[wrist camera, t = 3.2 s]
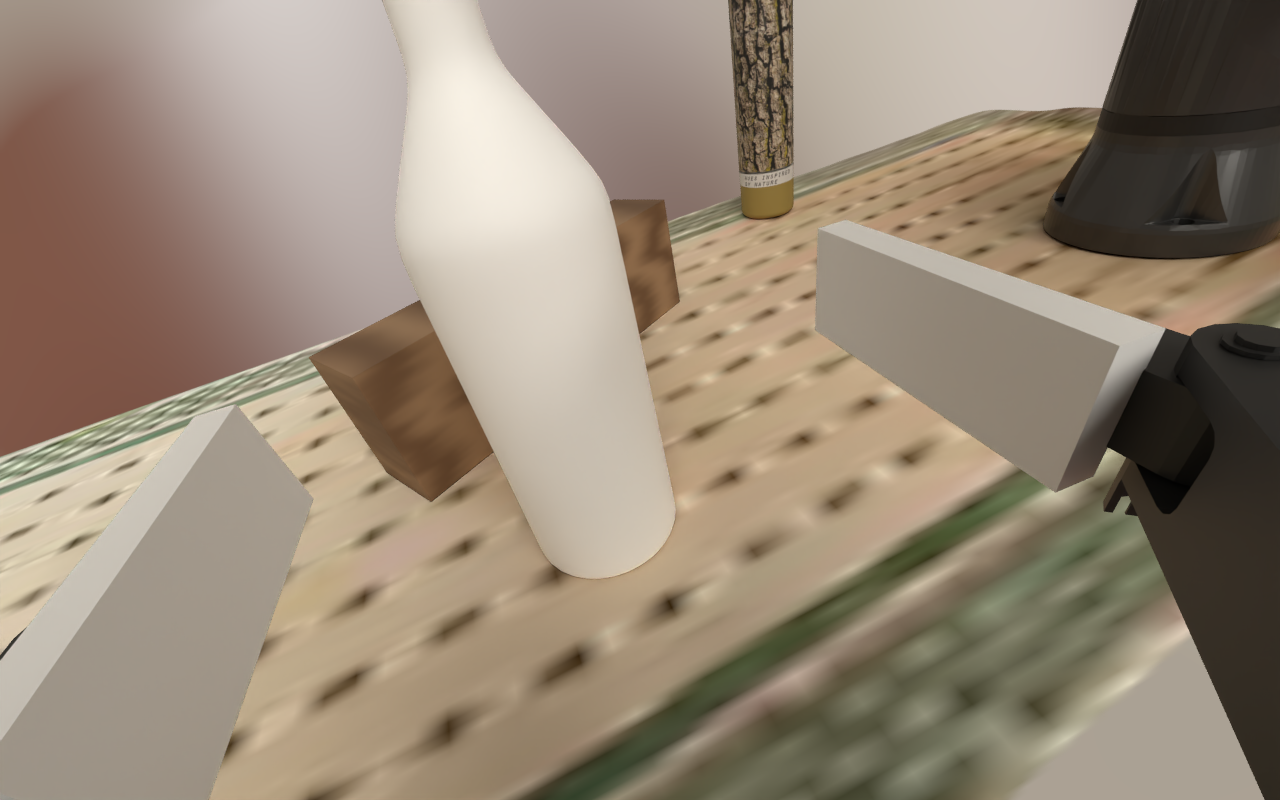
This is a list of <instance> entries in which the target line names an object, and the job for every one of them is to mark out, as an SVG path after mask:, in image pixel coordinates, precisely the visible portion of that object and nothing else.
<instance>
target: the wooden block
mask: <svg viewBox="0 0 1280 800" xmlns="http://www.w3.org/2000/svg"><path fill="white" fill-rule="evenodd" d="M610 204H611V208H612V212H613V216H614V220H615V224H616V229H617V233H618V238H619V243H620V247H621V252H622V257H623V261H624V266H625V271H626V275H627V280H628V285H629V289H630V294H631V299H632V303H633V308H634V313H635V317H636V322H637V327H638V331H639V334H640V333H641V332H642V331H643V330H645V329H646V328H647V327H648V326H650V325H651V324H652V323H653V322H655V321H656V320H657V319H658V318H660V317H661V316H662V315H663V314H665V313H666V312H667V311H668V310H669V309H671V308H672V307H673V306H674V305H676V304H677V303H678V302H679V301H680V300H679V294H678V287H677V281H676V274H675V268H674V261H673V255H672V248H671V241H670V235H669V228H668V222H667V216H666V209H665V202H664V200H612V201H610ZM309 359H310V360H311V361H312V363H313V364H314V366H315V367H316V369H317V370H318V372H319V373H320V375H321V376H322V378H323V379H324V381H325V382H326V384H327V385H328V386H329V388H330V389H331V391H332V392H333V394H334V395H335V397H336V398H337V400H338V401H339V403H340V404H341V406H342V407H343V409H344V410H345V411H346V413H347V414H348V416H349V417H350V419H351V420H352V422H353V423H354V425H355V426H356V428H357V429H358V431H359V432H360V434H361V435H362V437H363V438H364V439H365V441H366V442H367V444H368V445H369V447H370V448H371V450H372V451H373V453H374V454H375V456H376V457H377V459H378V460H379V462H380V463H381V464H382V466H383V467H384V469H385V470H386V472H387V473H388V474H390V475H391V476H393V477H394V478H396V479H397V480H399V481H400V482H402V483H403V484H405V485H406V486H408V487H409V488H411V489H412V490H414V491H415V492H417V493H418V494H420V495H421V496H423V497H424V498H426V499H427V500H429V501H433V500H434V499H435V498H436V497H438V496H439V495H440V494H441V493H443V492H444V491H445V490H446V489H448V488H449V487H450V486H451V485H453V484H454V483H455V482H456V481H458V480H459V479H460V478H461V477H462V476H464V475H465V474H466V473H467V472H469V471H470V470H471V469H472V468H474V467H475V466H476V465H477V464H479V463H480V462H481V461H482V460H484V459H485V458H486V457H487V456H489V455H490V454H491V453H492V452H493V449H492V447H491V445H490V443H489V441H488V439H487V437H486V435H485V433H484V431H483V429H482V427H481V424H480V422H479V420H478V418H477V416H476V414H475V412H474V410H473V408H472V406H471V404H470V402H469V400H468V398H467V396H466V394H465V392H464V389H463V387H462V385H461V383H460V381H459V379H458V377H457V375H456V373H455V371H454V369H453V367H452V365H451V363H450V361H449V359H448V357H447V355H446V352H445V350H444V348H443V346H442V344H441V342H440V340H439V338H438V336H437V334H436V332H435V330H434V328H433V326H432V324H431V322H430V320H429V317H428V315H427V313H426V311H425V309H424V307H423V305H422V303H421V301H420V300H419V301H417V302H415V303H413V304H411V305H409V306H407V307H405V308H403V309H401V310H399V311H397V312H396V313H394V314H392V315H390V316H388V317H386V318H384V319H382V320H380V321H378V322H376V323H374V324H372V325H371V326H368V327H367V328H365V329H363V330H361V331H359V332H357V333H355V334H353V335H351V336H349V337H347V338H345V339H343V340H341V341H339V342H338V343H336V344H334V345H332V346H330V347H328V348H326V349H324V350H322V351H320V352H318V353H316V354H314V355H312V356H310V357H309Z"/></svg>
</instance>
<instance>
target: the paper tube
mask: <svg viewBox="0 0 1280 800" xmlns="http://www.w3.org/2000/svg"><path fill="white" fill-rule="evenodd" d="M728 3H729V19H730V35H731V49H732V65H733V81H734V96H735V110H736V126H737V127H736V128H737V143H738V158H739V173H740V185H741V202H742V212H743V214H744V215H745V216H747V217H749V218H754V219H765V218H772V217H777V216H780V215H783V214H785V213H787V212H788V211H790V210H791V208H792V207H793V176H794V175H793V173H794V166H793V0H728Z"/></svg>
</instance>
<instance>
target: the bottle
mask: <svg viewBox="0 0 1280 800" xmlns="http://www.w3.org/2000/svg"><path fill="white" fill-rule="evenodd" d="M382 1H383V4H384V7H385V10H386V12H387V15H388V18H389V20H390V23H391V26H392V29H393V32H394V34H395V37H396V40H397V43H398V46H399V48H400V52H401V54H402V58H403V62H404V66H405V70H406V74H407V84H408V99H407V112H406V121H405V129H404V138H403V145H402V154H401V162H400V170H399V179H398V188H397V199H396V213H395V237H396V241H397V244H398V248H399V251H400V255H401V258H402V261H403V264H404V266H405V268H406V270H407V273H408V275H409V277H410V280H411V282H412V284H413V287H414V289H415V291H416V293H417V295H418V297H419V299H420V301H421V303H422V305H423V307H424V309H425V311H426V313H427V315H428V317H429V320H430V322H431V324H432V326H433V328H434V330H435V332H436V334H437V336H438V338H439V340H440V342H441V344H442V346H443V348H444V350H445V352H446V355H447V357H448V359H449V361H450V363H451V365H452V367H453V369H454V371H455V373H456V375H457V377H458V379H459V381H460V383H461V385H462V387H463V389H464V392H465V394H466V396H467V398H468V400H469V402H470V404H471V406H472V408H473V410H474V412H475V414H476V416H477V418H478V420H479V422H480V424H481V427H482V429H483V431H484V433H485V435H486V437H487V439H488V441H489V443H490V445H491V447H492V449H493V451H494V453H495V455H496V457H497V459H498V461H499V464H500V466H501V468H502V470H503V472H504V474H505V476H506V478H507V480H508V482H509V484H510V486H511V488H512V490H513V492H514V494H515V496H516V498H517V501H518V503H519V505H520V507H521V509H522V511H523V513H524V515H525V517H526V519H527V521H528V523H529V525H530V527H531V529H532V531H533V533H534V536H535V538H536V540H537V542H538V544H539V546H540V548H541V550H542V552H543V553H544V555H545V556H546V558H547V559H548V560H549V561H550V563H551V564H552V565H554V566H555V567H557V568H558V569H559V570H561V571H562V572H565V573H567V574H569V575H572V576H575V577H580V578H585V579H603V578H609V577H614V576H618V575H621V574H623V573H626V572H629V571H631V570H633V569H635V568H637V567H638V566H640V565H642V564H644V563H645V562H646V561H648V560H649V559H650V558H651V557H653V556H654V555H655V554H656V553H657V552H658V551H659V550H660V548H661V547H662V546H663V545H664V544H665V542H666V540H667V538H668V537H669V535H670V533H671V531H672V527H673V524H674V521H675V512H676V507H675V501H674V496H673V491H672V486H671V481H670V476H669V472H668V467H667V462H666V458H665V453H664V448H663V444H662V439H661V434H660V430H659V425H658V420H657V416H656V411H655V406H654V402H653V397H652V392H651V387H650V383H649V378H648V373H647V369H646V364H645V359H644V355H643V350H642V345H641V341H640V336H639V331H638V327H637V322H636V317H635V313H634V308H633V303H632V299H631V294H630V289H629V285H628V280H627V275H626V271H625V266H624V261H623V257H622V252H621V247H620V243H619V238H618V233H617V229H616V224H615V220H614V216H613V212H612V208H611V204H610V201H609V197H608V195H607V192H606V190H605V188H604V185H603V183H602V181H601V179H600V178H599V177H598V175H597V174H596V172H595V171H594V169H593V168H592V167H591V166H590V164H589V163H588V162H587V161H586V159H585V158H584V157H583V156H582V155H581V153H580V152H579V151H578V150H577V149H576V147H575V146H574V145H573V144H572V143H571V142H570V141H569V140H568V139H567V137H566V136H565V135H564V134H563V133H562V132H561V130H560V129H559V128H558V127H557V126H556V125H555V124H554V123H553V122H552V121H551V119H550V118H549V117H548V116H547V115H546V114H545V113H544V112H543V111H542V109H541V108H540V107H539V106H538V105H537V104H536V103H535V102H534V100H532V98H531V97H530V96H529V95H528V94H527V93H526V92H525V90H524V89H523V88H522V87H521V86H520V85H519V84H518V83H517V81H516V80H515V79H514V78H513V77H512V75H511V74H510V73H509V72H508V71H507V69H506V68H505V66H504V65H503V63H502V61H501V60H500V58H499V57H498V55H497V53H496V51H495V49H494V46H493V44H492V42H491V39H490V37H489V34H488V31H487V28H486V25H485V22H484V19H483V16H482V13H481V10H480V7H479V4H478V1H477V0H382Z"/></svg>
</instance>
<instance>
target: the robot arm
mask: <svg viewBox="0 0 1280 800" xmlns="http://www.w3.org/2000/svg"><path fill="white" fill-rule="evenodd" d="M1043 227H1044V229H1045V231H1046V232H1047V233H1048V234H1049V235H1051V236H1052V237H1054V238H1056V239H1058V240H1060V241H1062V242H1065V243H1067V244H1070V245H1073V246H1077V247H1080V248H1084V249H1089V250H1093V251H1098V252H1104V253H1110V254H1118V255H1127V256H1138V257H1155V258H1189V257H1206V256H1217V255H1225V254H1231V253H1237V252H1242V251H1246V250H1250V249H1254V248H1257V247H1260V246H1262V245H1264V244H1266V243H1268V242H1270V241H1272V240H1273V239H1274V238H1275V237H1276V236H1277V235H1278V233H1279V231H1280V0H1137V3H1136V6H1135V9H1134V12H1133V15H1132V18H1131V21H1130V25H1129V27H1128V31H1127V33H1126V37H1125V40H1124V43H1123V46H1122V49H1121V52H1120V55H1119V58H1118V61H1117V64H1116V67H1115V70H1114V73H1113V76H1112V79H1111V82H1110V85H1109V89H1108V92H1107V95H1106V98H1105V101H1104V104H1103V108H1102V111H1101V114H1100V117H1099V120H1098V123H1097V126H1096V129H1095V132H1094V134H1093V136H1092V138H1091V140H1090V141H1089V143H1088V144H1087V146H1086V147H1085V149H1084V150H1083V152H1082V153H1081V155H1080V156H1079V158H1078V159H1077V161H1076V162H1075V164H1074V165H1073V167H1072V168H1071V170H1070V171H1069V173H1068V174H1067V176H1066V177H1065V179H1064V180H1063V181H1062V183H1061V184H1060V186H1059V187H1058V189H1057V191H1056V192H1055V193H1054V195H1053V196H1052V198H1051V200H1050V202H1049V205H1048V208H1047V212H1046V215H1045V219H1044V222H1043ZM815 330H816V331H817V332H819V333H820V334H822V335H823V336H825V337H826V338H828V339H829V340H831V341H832V342H834V343H835V344H836V345H838V346H839V347H841V348H842V349H844V350H845V351H847V352H848V353H850V354H851V355H853V356H854V357H856V358H857V359H859V360H860V361H862V362H863V363H865V364H866V365H868V366H869V367H870V368H872V369H873V370H875V371H876V372H878V373H879V374H881V375H882V376H884V377H885V378H887V379H888V380H890V381H891V382H893V383H894V384H896V385H897V386H899V387H900V388H902V389H903V390H905V391H906V392H907V393H909V394H910V395H912V396H913V397H915V398H916V399H918V400H919V401H921V402H922V403H924V404H925V405H927V406H928V407H930V408H931V409H933V410H934V411H936V412H937V413H939V414H940V415H942V416H943V417H944V418H946V419H947V420H949V421H950V422H952V423H953V424H955V425H956V426H958V427H959V428H961V429H962V430H964V431H965V432H967V433H968V434H970V435H971V436H973V437H974V438H976V439H977V440H978V441H980V442H981V443H983V444H984V445H986V446H987V447H989V448H990V449H992V450H993V451H995V452H996V453H998V454H999V455H1001V456H1002V457H1004V458H1005V459H1007V460H1008V461H1010V462H1011V463H1013V464H1014V465H1015V466H1017V467H1018V468H1020V469H1021V470H1023V471H1024V472H1026V473H1027V474H1029V475H1030V476H1032V477H1033V478H1035V479H1036V480H1038V481H1039V482H1041V483H1042V484H1044V485H1045V486H1047V487H1048V488H1049V489H1051V490H1052V491H1054V492H1055V493H1056V492H1058V491H1060V490H1063V489H1065V488H1067V487H1070V486H1072V485H1074V484H1077V483H1079V482H1081V481H1084V480H1086V479H1088V478H1091V477H1093V476H1094V474H1095V472H1096V470H1097V468H1098V466H1099V464H1100V462H1101V460H1102V458H1103V456H1104V454H1105V452H1106V450H1107V447H1108V448H1110V449H1112V450H1114V451H1116V452H1118V453H1119V454H1121V455H1123V456H1125V457H1126V459H1125V461H1124V463H1123V465H1122V467H1121V469H1120V471H1119V473H1118V474H1117V476H1116V478H1115V480H1114V482H1113V484H1112V486H1111V488H1110V490H1109V492H1108V493H1107V495H1106V497H1105V499H1104V501H1103V506H1104V511H1105V512H1112V513H1113V511H1114V509H1115V507H1116V505H1117V504H1118V502H1119V500H1120V498H1121V497H1123V496H1129V497H1130V500H1131V503H1130V504H1129V506H1128V508H1127V510H1126V511H1125V514H1127V515H1134V516H1138V518H1139V520H1140V522H1141V524H1142V527H1143V529H1144V531H1145V533H1146V535H1147V538H1148V540H1149V542H1150V544H1151V547H1152V549H1153V551H1154V553H1155V556H1156V558H1157V560H1158V562H1159V565H1160V567H1161V569H1162V571H1163V573H1164V576H1165V578H1166V580H1167V582H1168V585H1169V587H1170V589H1171V591H1172V594H1173V596H1174V598H1175V600H1176V603H1177V605H1178V607H1179V609H1180V611H1181V614H1182V616H1183V618H1184V620H1185V623H1186V625H1187V627H1188V629H1189V632H1190V634H1191V636H1192V638H1193V640H1194V643H1195V645H1196V647H1197V649H1198V652H1199V654H1200V656H1201V658H1202V660H1203V663H1204V665H1205V667H1206V669H1207V672H1208V674H1209V676H1210V679H1211V681H1212V683H1213V685H1214V687H1215V690H1216V692H1217V694H1218V696H1219V699H1220V701H1221V703H1222V705H1223V707H1224V710H1225V712H1226V714H1227V717H1228V719H1229V721H1230V723H1231V725H1232V728H1233V730H1234V732H1235V734H1236V737H1237V739H1238V741H1239V743H1240V746H1241V748H1242V750H1243V752H1244V755H1245V757H1246V759H1247V761H1248V764H1249V766H1250V768H1251V770H1252V772H1253V775H1254V776H1255V779H1256V781H1257V784H1258V786H1259V788H1260V790H1261V793H1262V795H1263V797H1264V799H1265V800H1280V329H1279V328H1274V327H1269V326H1264V325H1252V324H1240V323H1232V324H1214V325H1210V326H1207V327H1203V328H1200V329H1197V330H1196V331H1195V332H1194V333H1193V334H1192V335H1191V336H1187V335H1184V334H1181V333H1178V332H1175V331H1172V330H1169V329H1166V328H1163V327H1160V326H1157V325H1154V324H1152V323H1149V322H1146V321H1143V320H1140V319H1137V318H1134V317H1131V316H1128V315H1125V314H1122V313H1119V312H1116V311H1113V310H1110V309H1107V308H1104V307H1101V306H1098V305H1096V304H1092V303H1089V302H1087V301H1084V300H1081V299H1078V298H1075V297H1072V296H1069V295H1066V294H1063V293H1060V292H1057V291H1054V290H1051V289H1048V288H1045V287H1042V286H1040V285H1037V284H1033V283H1031V282H1028V281H1025V280H1022V279H1019V278H1016V277H1013V276H1010V275H1007V274H1004V273H1001V272H998V271H995V270H992V269H989V268H986V267H983V266H980V265H977V264H975V263H972V262H969V261H966V260H963V259H960V258H957V257H954V256H951V255H948V254H945V253H942V252H939V251H936V250H933V249H930V248H927V247H924V246H922V245H919V244H916V243H913V242H910V241H907V240H904V239H901V238H898V237H895V236H892V235H889V234H886V233H883V232H880V231H877V230H874V229H871V228H868V227H866V226H863V225H860V224H857V223H854V222H851V221H848V220H844V221H840V222H837V223H834V224H831V225H827V226H824V227H821V228H818V241H817V279H816V317H815ZM312 502H313V497H312V496H311V495H310V494H309V492H308V491H307V490H306V489H305V488H304V486H303V485H302V484H301V483H300V481H299V480H298V479H297V478H296V477H295V475H294V474H293V473H292V472H291V471H290V469H289V468H288V467H287V466H286V464H285V463H284V462H283V461H282V460H281V458H280V457H279V456H278V455H277V453H276V452H275V451H274V450H273V449H272V447H271V446H270V445H269V444H268V443H267V441H266V440H265V439H264V438H263V436H262V435H261V434H260V433H259V432H258V430H257V429H256V428H255V427H254V425H253V424H252V423H251V422H250V421H249V419H248V418H247V417H246V416H245V415H244V413H243V412H242V411H241V410H240V408H239V407H238V406H237V405H236V404H234V405H231V406H228V407H224V408H221V409H218V410H214V411H211V412H208V413H204V414H201V415H198V416H195V417H194V418H193V419H192V421H191V422H190V423H189V424H188V426H187V427H186V428H185V429H184V431H183V432H182V433H181V434H180V436H179V437H178V438H177V439H176V441H175V442H174V443H173V444H172V446H171V447H170V448H169V449H168V451H167V452H166V453H165V454H164V456H163V457H162V458H161V459H160V461H159V462H158V463H157V464H156V466H155V467H154V468H153V470H152V471H151V472H150V473H149V475H148V476H147V477H146V478H145V480H144V481H143V482H142V483H141V485H140V486H139V487H138V488H137V490H136V491H135V492H134V493H133V495H132V496H131V497H130V498H129V500H128V501H127V502H126V503H125V505H124V506H123V507H122V508H121V510H120V511H119V512H118V513H117V515H116V516H115V517H114V518H113V520H112V521H111V522H110V524H109V525H108V526H107V527H106V529H105V530H104V531H103V532H102V534H101V535H100V536H99V537H98V539H97V540H96V541H95V542H94V544H93V545H92V546H91V547H90V549H89V550H88V551H87V552H86V554H85V555H84V556H83V557H82V559H81V560H80V561H79V562H78V564H77V565H76V566H75V567H74V569H73V570H72V571H71V572H70V574H69V575H68V576H67V577H66V579H65V580H64V581H63V583H62V584H61V585H60V586H59V588H58V589H57V590H56V591H55V593H54V594H53V595H52V596H51V598H50V599H49V600H48V601H47V603H46V604H45V605H44V606H43V608H42V609H41V610H40V611H39V613H38V614H37V615H36V616H35V618H34V619H33V620H32V621H31V623H30V624H29V625H28V626H27V627H26V628H25V629H24V630H23V631H22V632H21V633H20V634H18V635H17V636H16V637H15V638H14V639H13V640H12V641H11V643H10V644H9V645H8V646H7V648H6V649H5V650H4V651H3V653H2V654H1V655H0V800H209V798H210V795H211V792H212V789H213V786H214V783H215V780H216V778H217V775H218V772H219V769H220V766H221V763H222V760H223V757H224V755H225V752H226V749H227V746H228V743H229V740H230V737H231V734H232V732H233V729H234V726H235V723H236V720H237V717H238V714H239V711H240V709H241V706H242V703H243V700H244V697H245V694H246V691H247V688H248V686H249V683H250V680H251V677H252V674H253V671H254V668H255V665H256V663H257V660H258V657H259V654H260V651H261V648H262V645H263V642H264V640H265V637H266V634H267V631H268V628H269V625H270V622H271V620H272V617H273V614H274V611H275V608H276V605H277V602H278V599H279V597H280V594H281V591H282V588H283V585H284V582H285V579H286V576H287V574H288V571H289V568H290V565H291V562H292V559H293V556H294V553H295V551H296V548H297V545H298V542H299V539H300V536H301V533H302V530H303V528H304V525H305V522H306V519H307V516H308V513H309V510H310V507H311V505H312Z"/></svg>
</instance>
